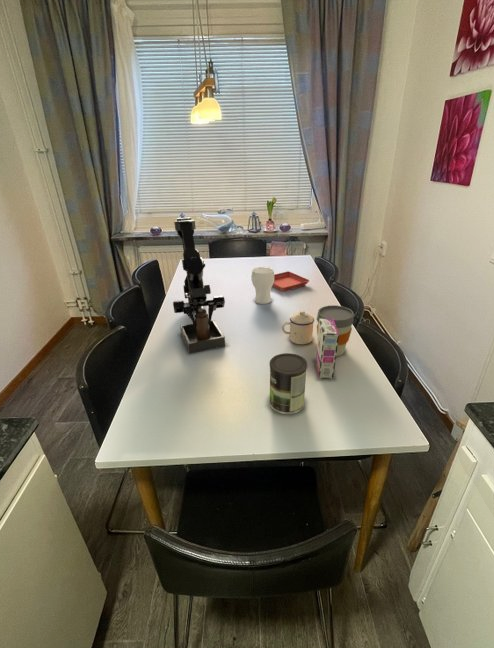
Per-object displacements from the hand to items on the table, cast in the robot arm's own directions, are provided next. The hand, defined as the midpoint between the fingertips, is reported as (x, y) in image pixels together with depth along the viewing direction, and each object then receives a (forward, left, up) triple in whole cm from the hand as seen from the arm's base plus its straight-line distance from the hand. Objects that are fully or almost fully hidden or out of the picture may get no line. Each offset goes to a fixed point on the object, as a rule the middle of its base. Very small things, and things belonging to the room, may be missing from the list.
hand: (202, 326), depth 128 cm
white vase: (-30, +36, -8) cm, 48 cm away
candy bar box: (+32, +33, -8) cm, 47 cm away
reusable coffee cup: (+22, +42, -8) cm, 48 cm away
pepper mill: (-1, 0, -7) cm, 7 cm away
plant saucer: (-45, +55, -8) cm, 72 cm away
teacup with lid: (+10, +34, -8) cm, 36 cm away
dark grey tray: (-4, 0, -8) cm, 9 cm away
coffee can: (+43, +14, -8) cm, 46 cm away
